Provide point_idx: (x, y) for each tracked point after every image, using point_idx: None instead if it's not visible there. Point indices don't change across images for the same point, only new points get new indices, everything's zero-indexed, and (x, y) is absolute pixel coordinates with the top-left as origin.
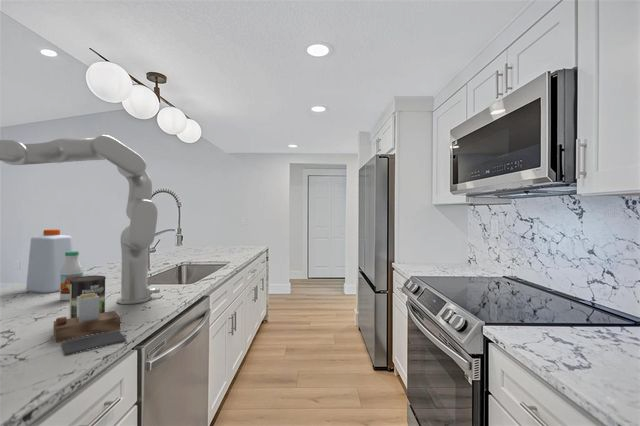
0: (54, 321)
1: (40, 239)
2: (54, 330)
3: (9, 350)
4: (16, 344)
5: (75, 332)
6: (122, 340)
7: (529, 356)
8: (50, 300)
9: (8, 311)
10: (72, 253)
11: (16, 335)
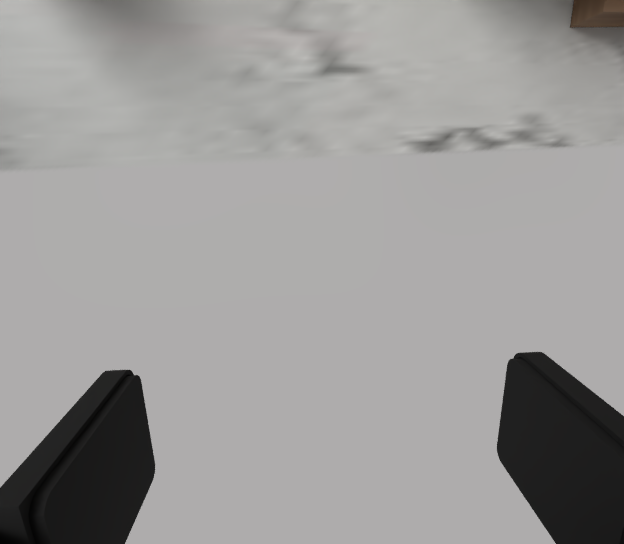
0: (605, 9)
1: None
2: (621, 19)
3: (616, 136)
4: (579, 122)
5: None
6: None
7: None
8: (43, 7)
9: (160, 155)
10: None
11: (492, 124)
